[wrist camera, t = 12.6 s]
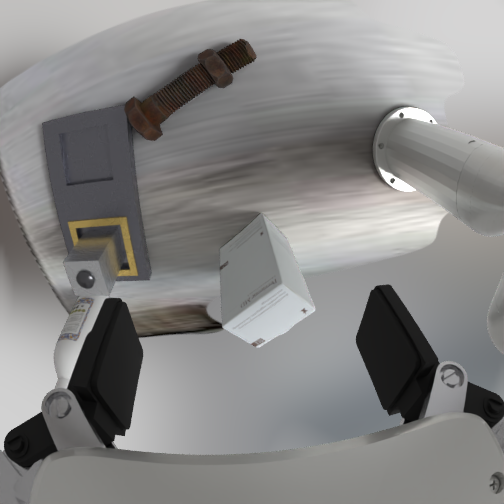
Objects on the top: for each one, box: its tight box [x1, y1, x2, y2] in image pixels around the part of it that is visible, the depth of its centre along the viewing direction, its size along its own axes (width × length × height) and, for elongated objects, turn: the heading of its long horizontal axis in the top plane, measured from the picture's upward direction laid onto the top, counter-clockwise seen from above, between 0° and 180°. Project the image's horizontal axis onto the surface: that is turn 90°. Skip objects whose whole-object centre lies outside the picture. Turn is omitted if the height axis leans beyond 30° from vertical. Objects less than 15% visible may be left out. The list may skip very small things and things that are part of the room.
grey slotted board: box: [42, 105, 151, 281], centre depth 34 cm, size 12×24×2 cm, turn 179°
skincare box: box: [219, 213, 316, 348], centre depth 35 cm, size 8×6×15 cm
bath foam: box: [54, 296, 109, 389], centre depth 35 cm, size 7×7×20 cm
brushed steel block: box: [63, 228, 124, 296], centre depth 34 cm, size 5×5×8 cm
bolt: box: [124, 39, 256, 141], centre depth 27 cm, size 6×5×15 cm
